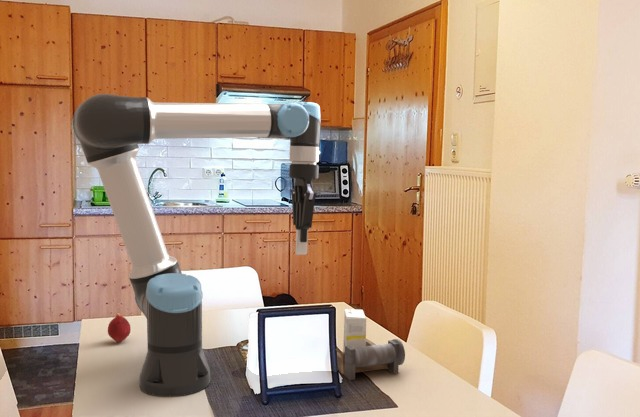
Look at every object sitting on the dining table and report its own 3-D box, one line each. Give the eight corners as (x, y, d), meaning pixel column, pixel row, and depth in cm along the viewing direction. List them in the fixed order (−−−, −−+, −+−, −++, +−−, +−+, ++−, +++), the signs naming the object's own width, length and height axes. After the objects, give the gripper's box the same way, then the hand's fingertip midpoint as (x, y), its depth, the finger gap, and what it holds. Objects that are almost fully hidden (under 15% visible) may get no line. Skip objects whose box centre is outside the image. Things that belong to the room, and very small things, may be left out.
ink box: (366, 365, 147) (366, 317, 146) (345, 365, 146) (346, 317, 145) (362, 354, 155) (363, 308, 154) (343, 354, 155) (343, 308, 154)
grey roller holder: (353, 382, 135) (353, 349, 135) (314, 352, 156) (315, 323, 155) (404, 374, 140) (405, 343, 140) (361, 346, 161) (361, 318, 161)
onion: (134, 339, 165) (133, 310, 164) (125, 346, 159) (124, 316, 159) (113, 338, 166) (113, 310, 165) (104, 345, 160) (103, 315, 159)
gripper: (327, 164, 152) (323, 257, 154) (309, 163, 164) (306, 250, 166) (298, 163, 149) (295, 258, 151) (282, 162, 161) (279, 250, 163)
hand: (301, 254), depth 158 cm, fingers closed
